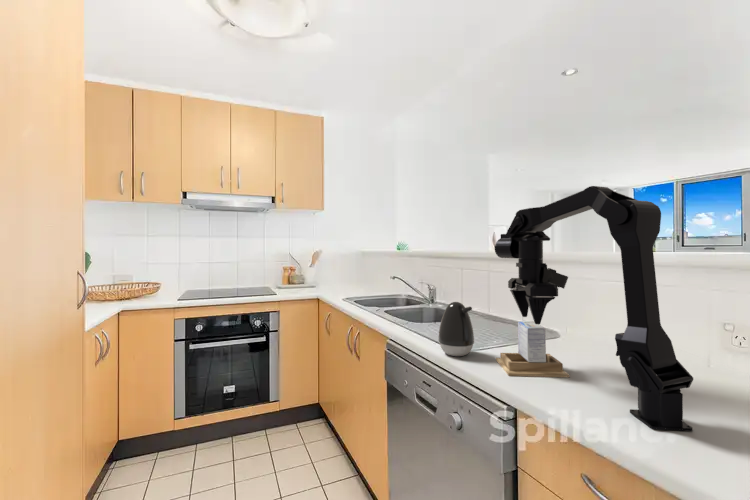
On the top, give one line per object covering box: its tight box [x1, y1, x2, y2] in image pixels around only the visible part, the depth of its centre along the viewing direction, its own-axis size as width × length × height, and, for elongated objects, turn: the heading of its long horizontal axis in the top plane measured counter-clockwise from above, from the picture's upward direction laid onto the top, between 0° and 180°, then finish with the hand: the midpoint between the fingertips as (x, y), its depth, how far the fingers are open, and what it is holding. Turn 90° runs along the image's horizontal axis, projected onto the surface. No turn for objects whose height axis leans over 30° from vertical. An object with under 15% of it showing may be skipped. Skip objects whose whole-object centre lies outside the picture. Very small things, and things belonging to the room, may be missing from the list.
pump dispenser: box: [437, 301, 475, 357], centre depth 103 cm, size 10×10×15 cm
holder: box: [495, 352, 570, 378], centre depth 90 cm, size 12×14×3 cm
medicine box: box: [517, 320, 547, 363], centre depth 90 cm, size 8×4×9 cm, turn 174°
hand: (530, 320), depth 90 cm, fingers open, 9 cm apart
